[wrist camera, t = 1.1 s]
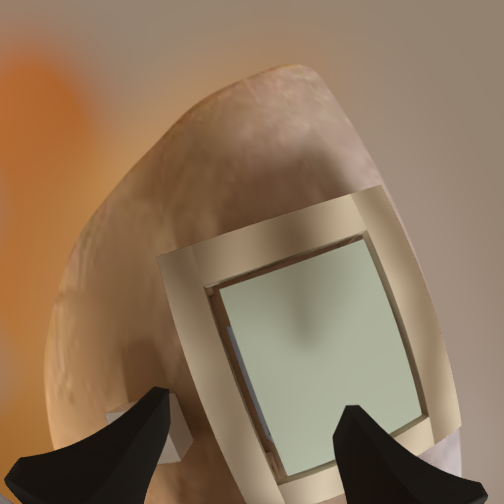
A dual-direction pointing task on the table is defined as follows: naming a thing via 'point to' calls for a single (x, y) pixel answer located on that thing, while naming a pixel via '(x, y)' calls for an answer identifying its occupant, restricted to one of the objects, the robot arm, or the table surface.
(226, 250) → the stand
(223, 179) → the table surface
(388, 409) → the flap
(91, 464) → the robot arm
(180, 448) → the beige cube
